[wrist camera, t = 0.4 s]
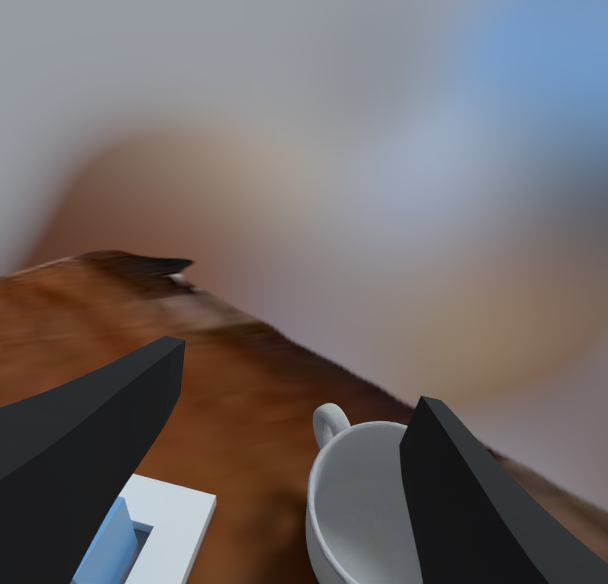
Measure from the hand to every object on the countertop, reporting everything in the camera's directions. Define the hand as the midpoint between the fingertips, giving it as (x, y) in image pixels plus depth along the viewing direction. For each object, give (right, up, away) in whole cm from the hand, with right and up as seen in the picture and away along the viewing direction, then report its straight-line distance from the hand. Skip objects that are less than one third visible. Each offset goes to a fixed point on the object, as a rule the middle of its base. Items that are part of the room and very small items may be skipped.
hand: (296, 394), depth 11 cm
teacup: (+4, -15, +16) cm, 22 cm away
